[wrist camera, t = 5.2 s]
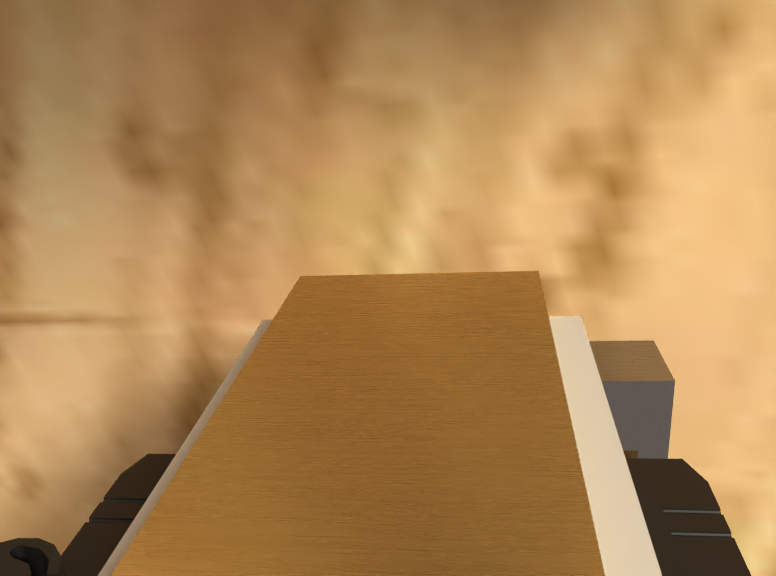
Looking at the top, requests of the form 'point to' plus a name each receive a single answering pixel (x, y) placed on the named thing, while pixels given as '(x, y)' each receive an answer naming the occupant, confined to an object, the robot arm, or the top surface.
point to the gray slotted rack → (637, 395)
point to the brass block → (385, 442)
